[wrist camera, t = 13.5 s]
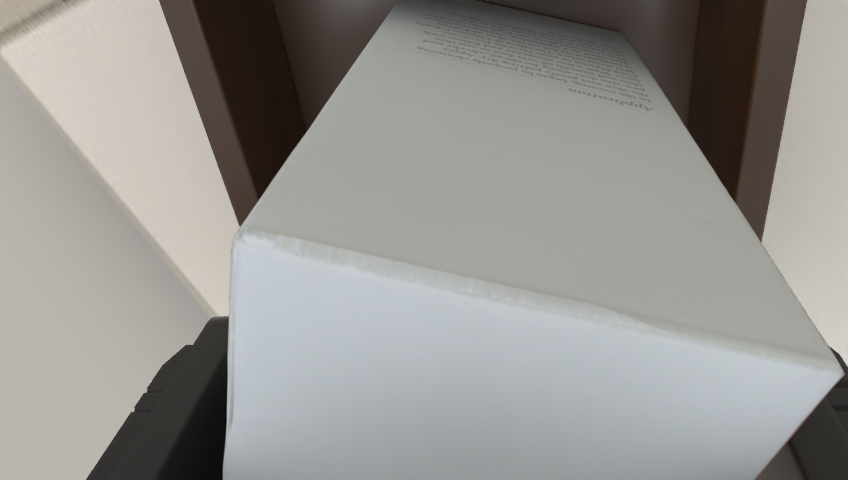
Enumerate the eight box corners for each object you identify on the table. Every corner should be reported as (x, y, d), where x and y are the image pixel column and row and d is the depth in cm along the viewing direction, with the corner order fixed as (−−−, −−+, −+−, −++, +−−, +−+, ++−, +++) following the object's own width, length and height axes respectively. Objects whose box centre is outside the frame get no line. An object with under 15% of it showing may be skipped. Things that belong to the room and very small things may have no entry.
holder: (337, 293, 24) (298, 394, 20) (236, -77, 17) (140, -49, 13) (689, 279, 22) (735, 390, 17) (739, -156, 15) (838, -156, 10)
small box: (546, 261, 21) (585, 705, 10) (367, 221, 21) (216, 624, 10) (633, 26, 16) (873, 377, 6) (406, -25, 16) (206, 230, 6)
